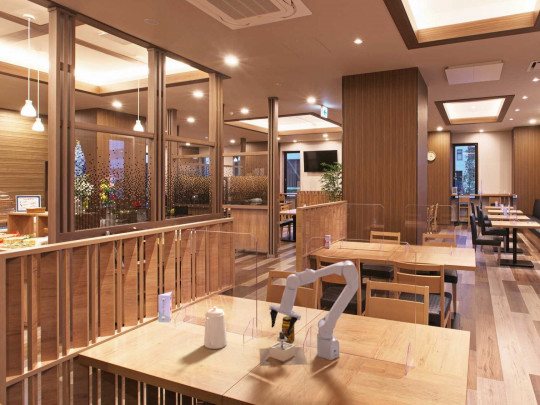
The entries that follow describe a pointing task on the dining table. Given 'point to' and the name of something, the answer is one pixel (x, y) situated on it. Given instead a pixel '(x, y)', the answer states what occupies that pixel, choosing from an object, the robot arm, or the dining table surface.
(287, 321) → the condiment
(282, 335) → the plunger
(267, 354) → the board
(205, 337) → the coffeepot
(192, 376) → the dining table surface
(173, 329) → the dining table surface
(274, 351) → the press housing
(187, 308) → the dining table surface
